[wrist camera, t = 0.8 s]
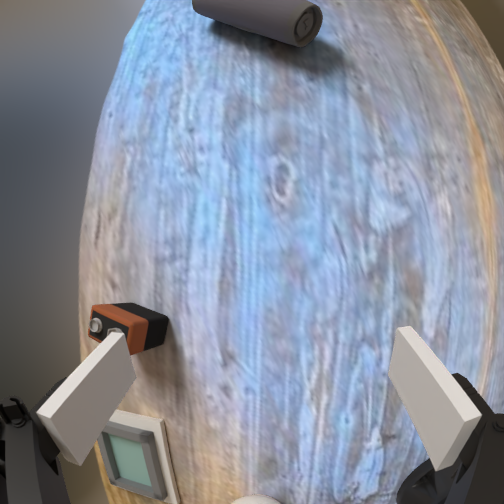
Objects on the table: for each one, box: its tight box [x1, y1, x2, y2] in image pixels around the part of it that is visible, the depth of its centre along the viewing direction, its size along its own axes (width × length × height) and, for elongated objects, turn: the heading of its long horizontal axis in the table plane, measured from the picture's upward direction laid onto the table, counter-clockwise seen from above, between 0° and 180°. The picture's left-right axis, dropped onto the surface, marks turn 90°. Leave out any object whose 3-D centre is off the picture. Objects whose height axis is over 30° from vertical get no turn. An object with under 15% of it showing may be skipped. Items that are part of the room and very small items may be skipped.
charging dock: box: [97, 409, 180, 504], centre depth 36 cm, size 18×14×3 cm
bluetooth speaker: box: [192, 0, 323, 47], centre depth 37 cm, size 23×9×10 cm, turn 50°
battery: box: [88, 303, 168, 355], centre depth 34 cm, size 4×7×10 cm, turn 75°
